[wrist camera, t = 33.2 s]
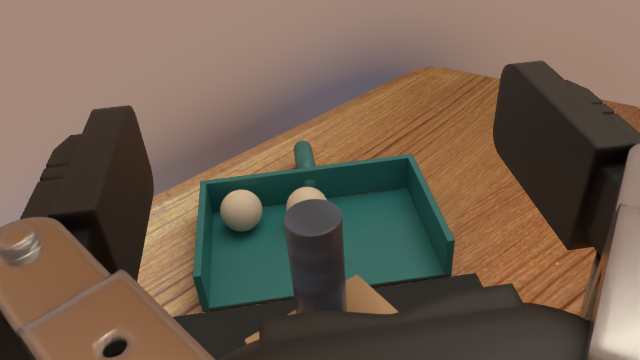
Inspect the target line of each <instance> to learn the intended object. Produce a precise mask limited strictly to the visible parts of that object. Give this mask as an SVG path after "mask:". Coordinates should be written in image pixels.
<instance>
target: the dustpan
mask: <svg viewBox="0 0 640 360" xmlns="http://www.w3.org/2000/svg"><path fill="white" fill-rule="evenodd" d="M294 155H295V161H296V167H297V169H292V170H284V171H276V172H268V173H261V174H253V175H245V176H237V177H230V178H222V179H214V180H206V181H201V182H200V194H199V206H198V219H197V232H196V244H195V257H194V270H193V279H194V282H195V286H196V289H197V293H198V296H199V300H200V303H201V307H202V311H203V312H204V311H211V310H218V309H224V308H231V307H238V306H245V305H252V304H259V303H266V302H273V301H280V300H287V299H293V298H294V293H293V286H292V278H291V271H290V264H289V257H288V249H287V242H286V235H285V227H284V216H285V213H286V212H287V211H286V204H287V201H288V198H289V196H290V195H291V194H292V193H293V192H294V191H295V190H297V189H299V188H302V187H313V188H315V189H318V190H319V191H320V192H322V193H323V194H324V196H325V197H326V198H329V199H327V201H329V202H332V203H334V204H335V205H336V206H337V207H338V208H339V209H340V211H341V213H342V222H343V240H344V258H345V276H346V280H348V279H350V278H351V277H353V276H355V275H358V276H360V277H361V278H362V279H363V280H364V281H365V282H366V283H367V284H368V285H369V286H371V287H376V286H383V285H390V284H397V283H404V282H411V281H418V280H425V279H431V278H438V277H445V276H451V272H452V262H453V252H454V243H455V240H454V237H453V235H452V233H451V231H450V229H449V227H448V225H447V223H446V221H445V219H444V217H443V215H442V213H441V211H440V209H439V207H438V205H437V203H436V201H435V199H434V197H433V195H432V193H431V191H430V189H429V187H428V185H427V183H426V181H425V179H424V177H423V175H422V173H421V171H420V169H419V167H418V165H417V163H416V161H415V159H414V157H413V155H412V154H408V155H400V156H392V157H385V158H377V159H369V160H361V161H354V162H346V163H338V164H330V165H323V166H316V165H315V161H314V156H313V152H312V147H311V145H310V144H309V143H308V142H307V141H299V142H297V143H296V144H295V146H294ZM400 188H404V189H400ZM392 189H396V190H392ZM236 190H248V191H250V192H252V193H254V194H255V195H256V196H257V197H258V198H259V200H260V202H261V204H262V217H261V219H260V221H259V223H258V224H257V225H256V226H255V227H254V228H252V229H250V230H248V231H243V232H240V231H235V230H232V229H230V228H229V227H228V226H226V225H225V223H224V222H223V220H222V218H221V214H220V207H221V204H222V201H223V199H224V198H225V197H226V196H227V195H228V194H229V193H231V192H233V191H236ZM385 190H389V191H385ZM377 191H381V192H377ZM370 192H374V193H370ZM362 193H366V194H362ZM355 194H359V195H355ZM347 195H351V196H347ZM340 196H344V197H340ZM332 197H336V198H332ZM280 204H283V205H280ZM272 205H276V206H272ZM265 206H268V207H265ZM213 213H216V214H213Z"/></svg>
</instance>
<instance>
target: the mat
mask: <svg viewBox="0 0 640 360" xmlns="http://www.w3.org/2000/svg"><path fill="white" fill-rule="evenodd" d="M476 288H483V286H482V284H481V282H480V281H479V279H478V277H477V275H476V273H474V274H467V275H460V276H453V277H446V278H439V279H432V280H425V281H418V282H412V283H405V284H398V285H391V286H384V287H377V288H373V289H374V290H375V291H376V292H377V293H378V294H379V295H381V296H382V297H383V298H384V299H385V300H386V301H387V302H388V303H389V304H390V305H392V306H393V307H394V308H395V309H396V310H397V311H398V312H400V311H402V310H405V309H408V308H410V307H413V306H416V305H418V304H421V303H424V302H426V301H429V300H431V299H434V298H437V297H439V296H442V295H445V294H447V293H450V292H455V291H462V290H469V289H476ZM295 310H296V308H295V300H287V301H281V302H274V303H267V304H260V305H253V306H246V307H239V308H232V309H225V310H219V311H212V312H205V313H198V314H191V315H184V316H177V317H173V318H174V319H175V320H176V321H177V322H178V323H179V324H180V325H181V326H182V327H183V328H184V329H185V330H186V331H187V332H188V333H189V334H190V335H191V336H192V337H193V338H194V339H195V340H196V341H197V342H198V343H199V344H200V345H201V346H202V347H203V348H204V349H205V350H206V351H207V352H208V353H209V354H210V355H211V356H212V357H213V358H214V359H215V360H220V359H222V358H223V357H225V356H226V355H228V354H230V353H231V352H233V351H234V350H236V349H238V348H240V347H242V346H244V345H245V339H246V338H248V337H250V336H252V335H253V334H255V333H257V332H258V331H259V322H258V319H263V318H270V317H277V316H284V315H288V314H289V313H291V312H293V311H295Z"/></svg>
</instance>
